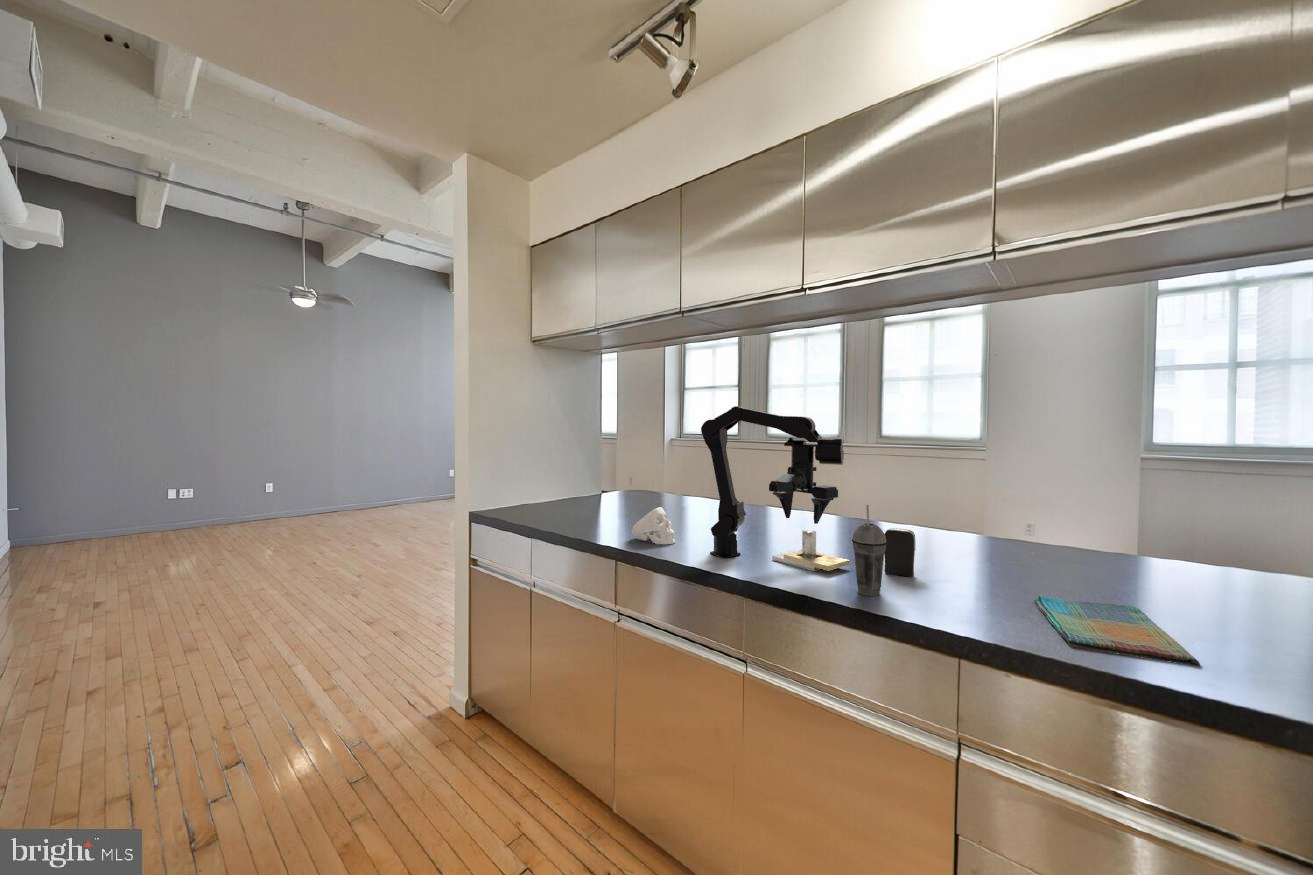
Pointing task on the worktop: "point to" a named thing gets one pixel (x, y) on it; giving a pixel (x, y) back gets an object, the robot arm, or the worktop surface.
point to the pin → (809, 544)
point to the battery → (900, 552)
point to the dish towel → (1112, 629)
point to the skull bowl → (654, 527)
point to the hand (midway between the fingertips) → (801, 520)
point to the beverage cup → (869, 557)
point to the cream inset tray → (811, 561)
